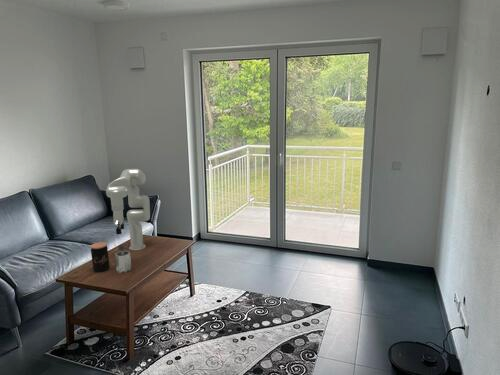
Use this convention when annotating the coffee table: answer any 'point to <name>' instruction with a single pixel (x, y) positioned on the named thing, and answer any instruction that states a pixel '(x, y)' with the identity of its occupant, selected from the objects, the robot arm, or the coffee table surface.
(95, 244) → the coffee jar
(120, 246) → the plunger
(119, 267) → the press carafe
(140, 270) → the coffee table surface
